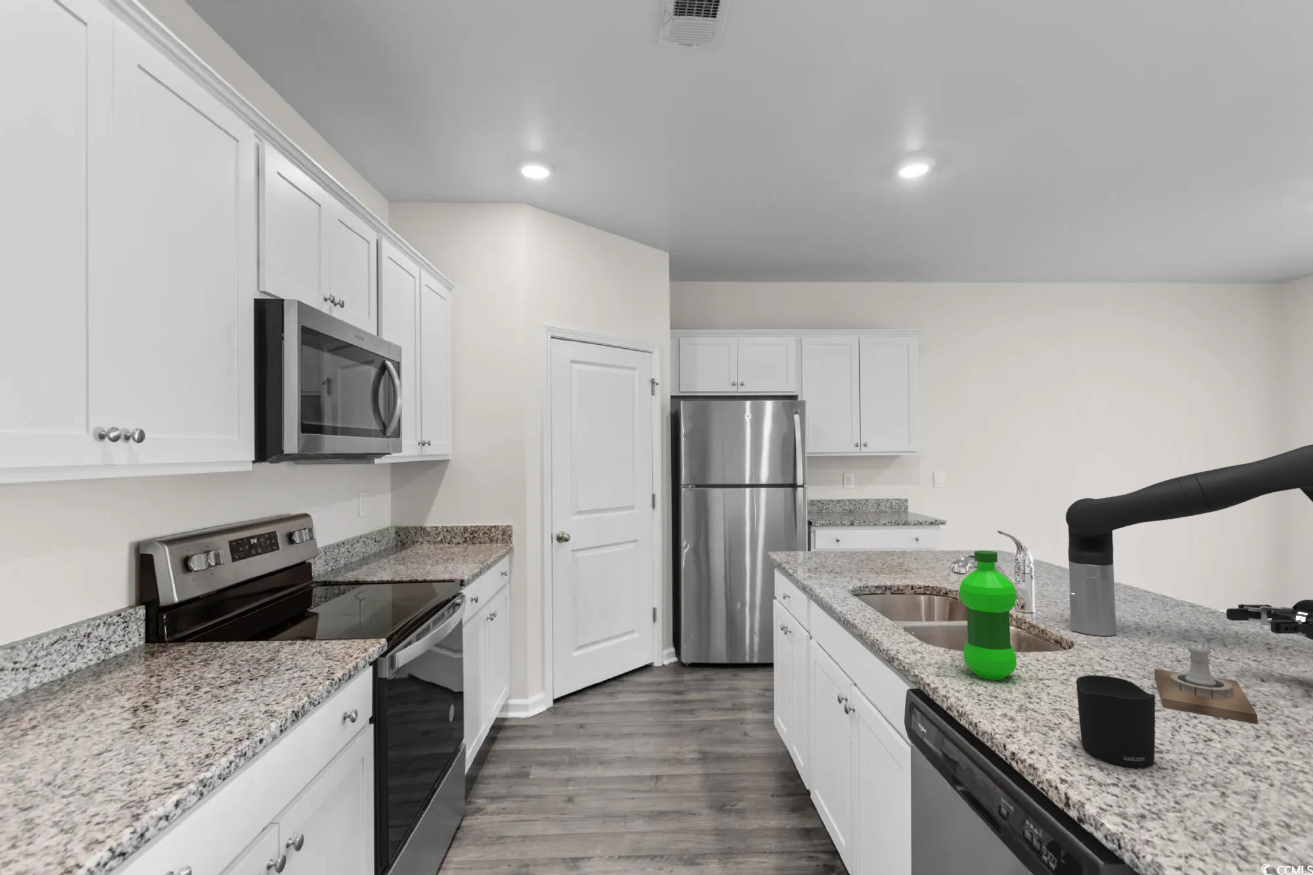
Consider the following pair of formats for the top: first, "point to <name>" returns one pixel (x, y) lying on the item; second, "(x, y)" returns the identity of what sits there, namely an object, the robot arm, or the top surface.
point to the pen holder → (1116, 720)
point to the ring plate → (1204, 697)
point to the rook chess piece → (1200, 666)
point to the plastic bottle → (988, 619)
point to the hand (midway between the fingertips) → (1249, 620)
